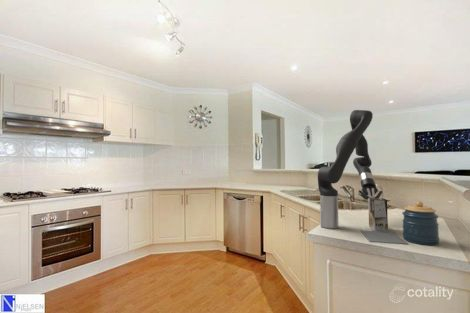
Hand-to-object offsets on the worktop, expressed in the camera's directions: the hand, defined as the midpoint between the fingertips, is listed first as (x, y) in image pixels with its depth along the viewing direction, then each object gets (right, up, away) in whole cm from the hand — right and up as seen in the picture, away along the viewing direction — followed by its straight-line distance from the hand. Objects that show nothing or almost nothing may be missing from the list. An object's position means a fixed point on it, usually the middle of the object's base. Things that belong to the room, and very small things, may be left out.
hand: (373, 205), depth 134 cm
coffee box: (-2, -11, -8) cm, 14 cm away
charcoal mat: (-8, -11, -21) cm, 25 cm away
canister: (+6, -11, -26) cm, 29 cm away
